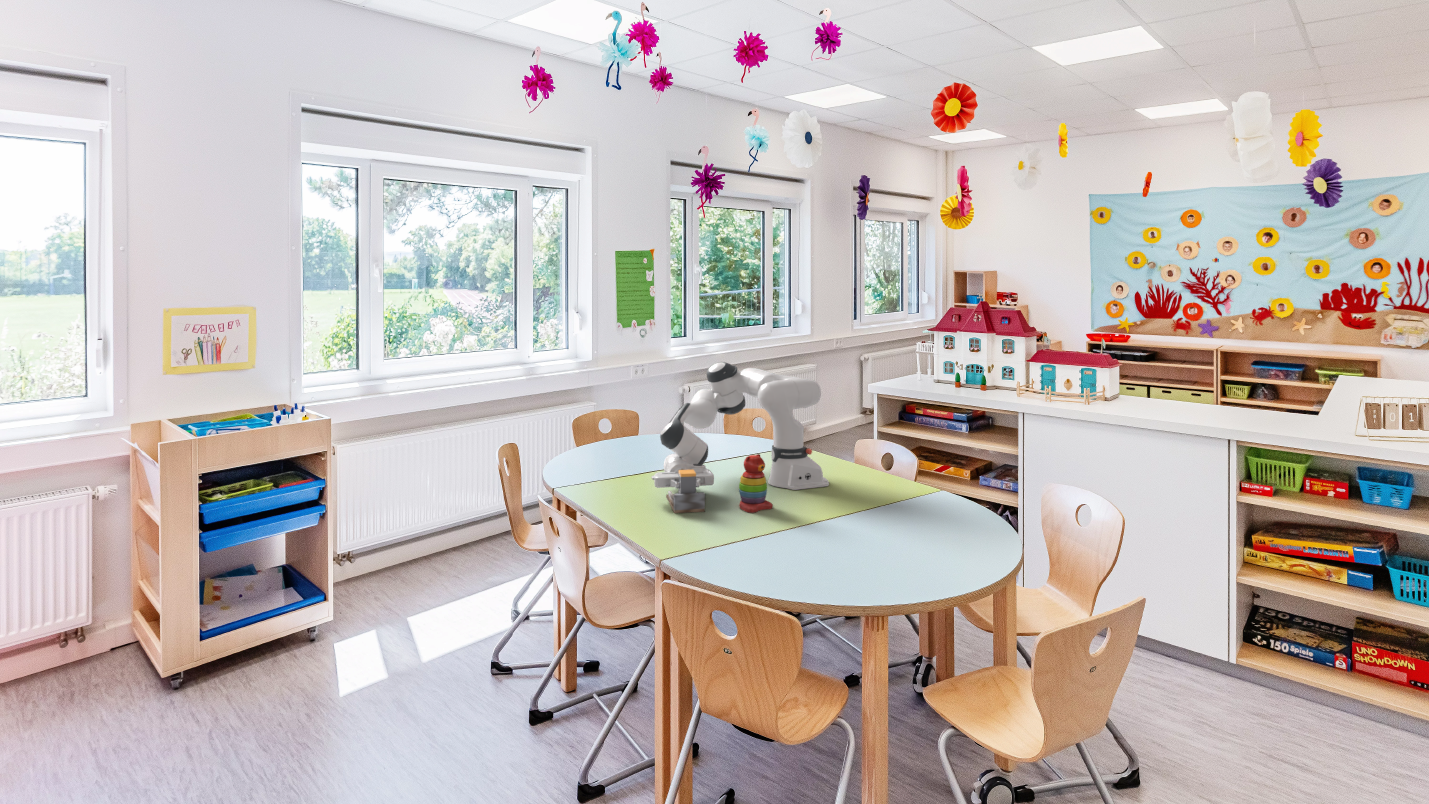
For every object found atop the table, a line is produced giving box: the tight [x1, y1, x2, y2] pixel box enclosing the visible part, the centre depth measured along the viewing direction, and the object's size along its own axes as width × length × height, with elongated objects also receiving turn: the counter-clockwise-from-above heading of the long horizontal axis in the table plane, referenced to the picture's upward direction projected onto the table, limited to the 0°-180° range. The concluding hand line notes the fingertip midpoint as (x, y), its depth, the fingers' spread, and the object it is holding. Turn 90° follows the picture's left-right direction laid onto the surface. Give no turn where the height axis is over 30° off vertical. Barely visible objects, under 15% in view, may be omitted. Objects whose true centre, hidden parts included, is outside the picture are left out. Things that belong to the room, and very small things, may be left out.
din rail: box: [665, 490, 706, 514], centre depth 257 cm, size 10×18×6 cm, turn 12°
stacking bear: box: [738, 453, 774, 514], centre depth 254 cm, size 11×10×18 cm
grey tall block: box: [677, 469, 697, 493], centre depth 253 cm, size 5×5×11 cm
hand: (687, 485), depth 252 cm, fingers closed on grey tall block, 5 cm apart
